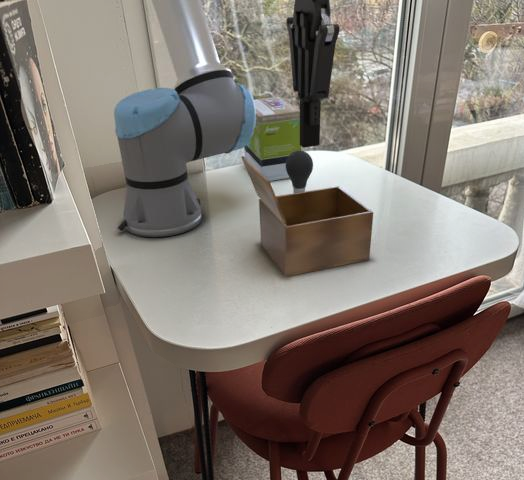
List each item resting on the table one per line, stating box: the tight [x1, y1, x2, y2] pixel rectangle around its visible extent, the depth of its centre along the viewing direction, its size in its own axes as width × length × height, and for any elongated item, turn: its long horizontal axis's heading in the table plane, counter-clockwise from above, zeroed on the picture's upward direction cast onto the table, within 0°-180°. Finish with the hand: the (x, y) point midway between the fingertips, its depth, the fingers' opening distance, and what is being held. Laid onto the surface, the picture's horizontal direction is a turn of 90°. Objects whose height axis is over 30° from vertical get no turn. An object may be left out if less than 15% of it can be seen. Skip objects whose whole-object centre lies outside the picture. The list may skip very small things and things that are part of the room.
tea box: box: [243, 96, 302, 182], centre depth 127 cm, size 15×10×15 cm
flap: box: [241, 155, 286, 224], centre depth 86 cm, size 7×13×1 cm
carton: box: [258, 185, 374, 277], centre depth 94 cm, size 15×13×8 cm
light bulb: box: [286, 149, 314, 194], centre depth 113 cm, size 6×6×10 cm
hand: (309, 145), depth 85 cm, fingers closed
